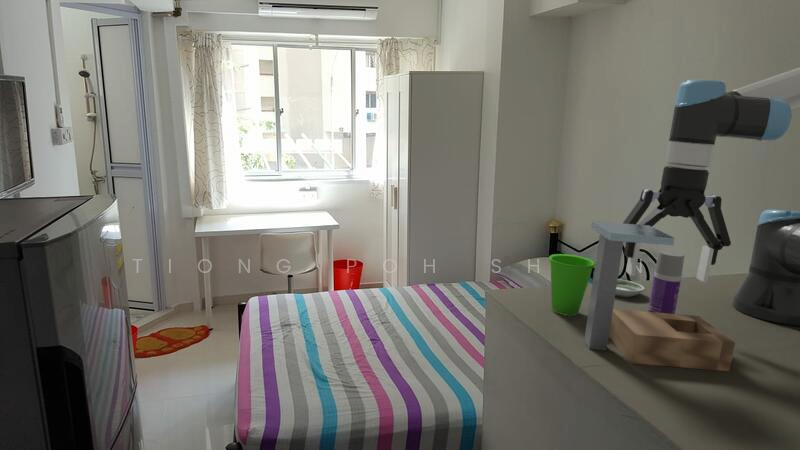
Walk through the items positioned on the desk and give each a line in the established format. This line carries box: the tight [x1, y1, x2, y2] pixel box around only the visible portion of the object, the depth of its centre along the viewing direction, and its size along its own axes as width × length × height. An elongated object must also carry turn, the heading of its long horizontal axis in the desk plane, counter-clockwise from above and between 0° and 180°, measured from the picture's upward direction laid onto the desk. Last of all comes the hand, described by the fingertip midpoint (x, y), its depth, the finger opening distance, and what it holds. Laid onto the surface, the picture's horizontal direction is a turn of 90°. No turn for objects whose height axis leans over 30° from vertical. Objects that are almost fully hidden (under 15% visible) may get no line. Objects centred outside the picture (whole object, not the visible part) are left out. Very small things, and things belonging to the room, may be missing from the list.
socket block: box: [608, 308, 736, 372], centre depth 96 cm, size 16×12×5 cm
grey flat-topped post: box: [583, 220, 675, 351], centre depth 94 cm, size 10×10×21 cm
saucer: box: [615, 278, 645, 298], centre depth 128 cm, size 10×10×2 cm
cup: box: [548, 253, 596, 316], centre depth 112 cm, size 9×9×11 cm
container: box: [647, 249, 685, 314], centre depth 106 cm, size 5×5×15 cm
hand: (665, 277), depth 106 cm, fingers open, 13 cm apart
